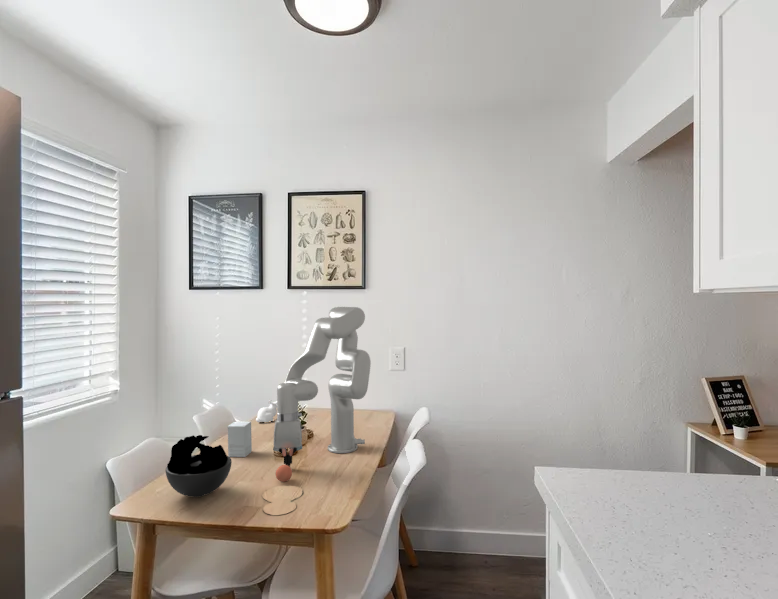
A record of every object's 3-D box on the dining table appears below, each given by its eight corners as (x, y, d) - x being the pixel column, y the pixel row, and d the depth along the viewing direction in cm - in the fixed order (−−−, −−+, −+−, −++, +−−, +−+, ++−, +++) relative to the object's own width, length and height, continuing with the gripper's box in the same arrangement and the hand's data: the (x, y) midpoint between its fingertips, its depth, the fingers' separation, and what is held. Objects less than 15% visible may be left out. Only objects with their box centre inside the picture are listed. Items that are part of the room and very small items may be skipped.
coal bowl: (184, 481, 161) (183, 428, 161) (240, 482, 161) (240, 428, 161) (153, 508, 141) (152, 446, 141) (217, 508, 141) (216, 447, 141)
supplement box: (252, 451, 193) (252, 421, 193) (245, 457, 185) (244, 426, 185) (235, 450, 193) (235, 420, 193) (227, 457, 186) (227, 425, 186)
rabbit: (272, 418, 246) (272, 395, 246) (283, 421, 239) (282, 398, 239) (252, 422, 237) (252, 399, 237) (262, 426, 230) (262, 402, 230)
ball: (290, 484, 159) (292, 477, 164) (291, 468, 158) (293, 462, 164) (274, 484, 158) (276, 477, 164) (274, 468, 158) (277, 462, 163)
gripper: (308, 413, 177) (308, 461, 177) (268, 414, 175) (268, 463, 175) (307, 418, 169) (307, 468, 169) (265, 420, 167) (266, 470, 167)
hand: (288, 465), depth 172 cm, fingers closed
